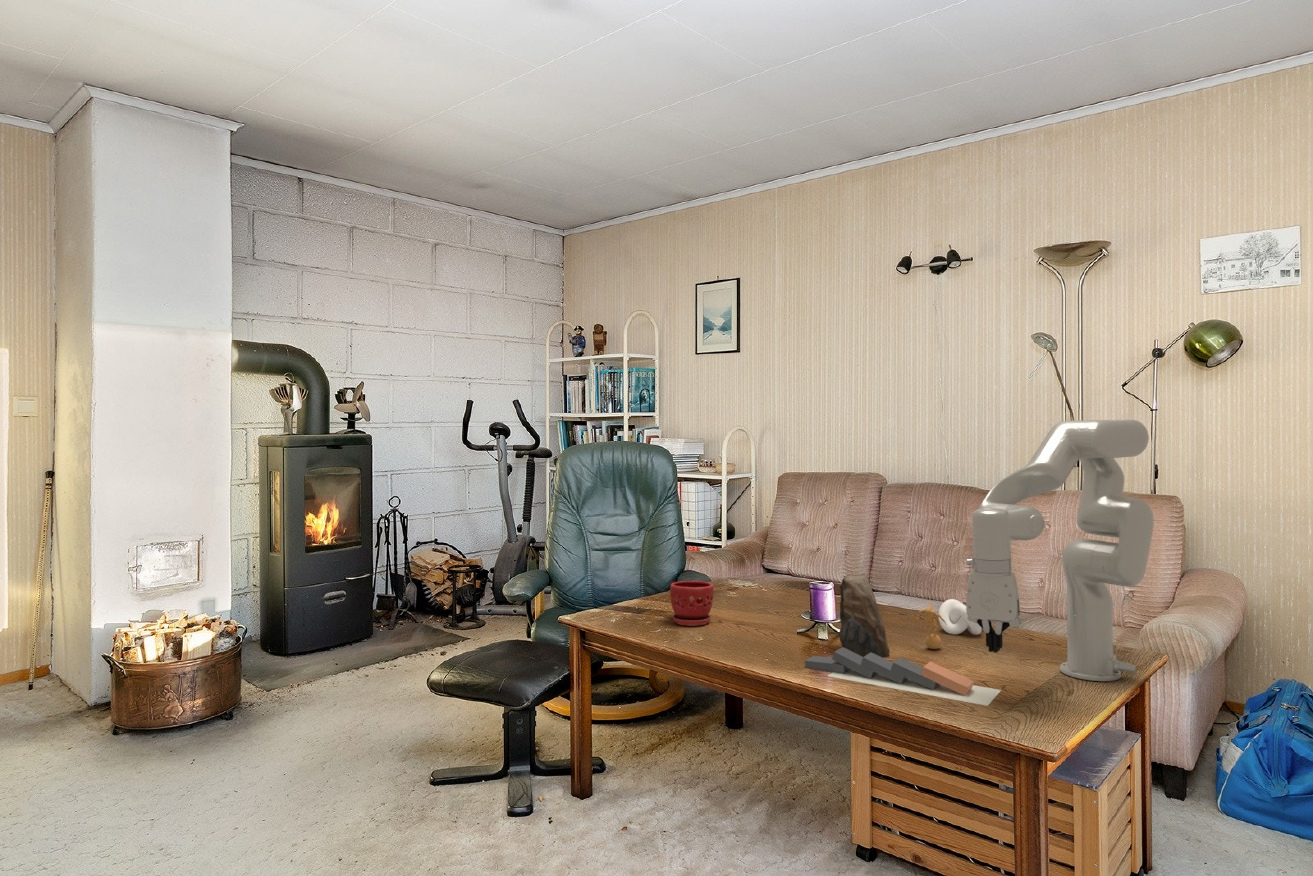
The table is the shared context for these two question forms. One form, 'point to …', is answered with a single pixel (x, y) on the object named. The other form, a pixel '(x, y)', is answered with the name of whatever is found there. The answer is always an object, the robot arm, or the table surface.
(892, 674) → the slate domino
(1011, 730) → the table surface
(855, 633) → the tall jagged boulder
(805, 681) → the table surface
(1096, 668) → the robot arm
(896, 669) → the slate domino
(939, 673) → the rust domino
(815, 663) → the slate domino
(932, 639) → the figurine
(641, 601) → the table surface
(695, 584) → the plant pot
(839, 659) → the slate domino
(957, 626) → the white knot sculpture
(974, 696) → the felt mat
